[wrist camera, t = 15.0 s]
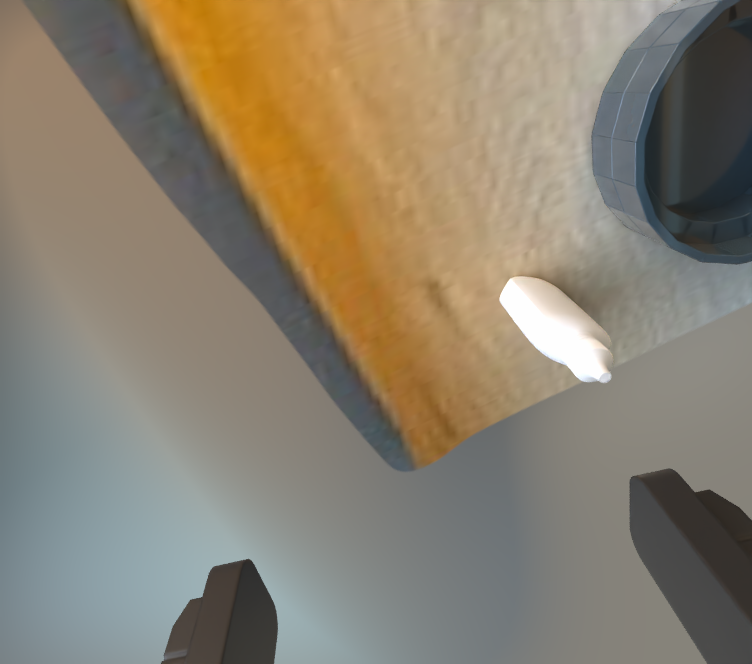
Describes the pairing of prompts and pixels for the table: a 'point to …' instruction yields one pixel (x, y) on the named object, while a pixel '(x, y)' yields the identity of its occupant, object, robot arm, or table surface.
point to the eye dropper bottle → (559, 327)
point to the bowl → (683, 132)
